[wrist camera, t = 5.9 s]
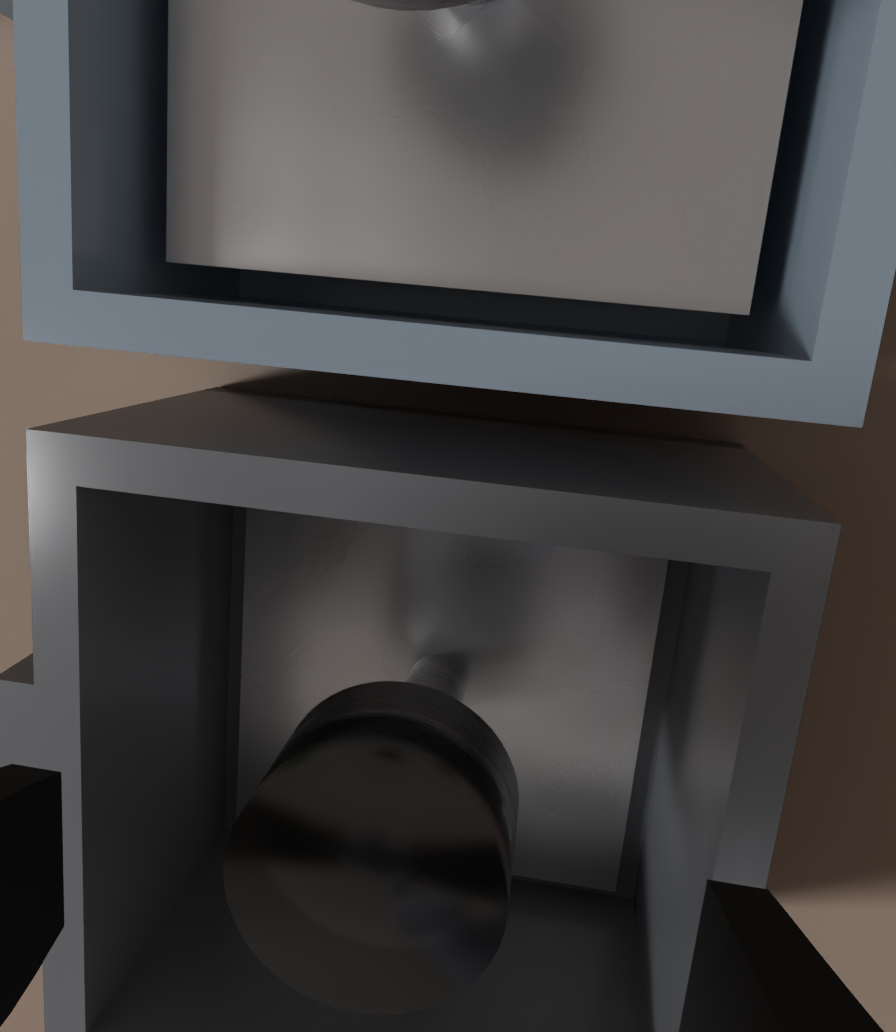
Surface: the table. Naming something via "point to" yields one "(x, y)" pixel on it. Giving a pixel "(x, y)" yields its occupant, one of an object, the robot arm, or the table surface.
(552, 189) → the slate-blue press plunger
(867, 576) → the table surface
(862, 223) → the slate-blue press
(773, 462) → the table surface
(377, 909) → the charcoal press plunger
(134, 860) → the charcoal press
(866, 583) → the table surface
